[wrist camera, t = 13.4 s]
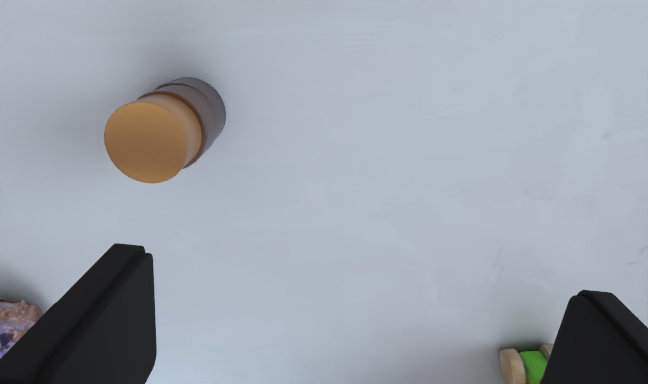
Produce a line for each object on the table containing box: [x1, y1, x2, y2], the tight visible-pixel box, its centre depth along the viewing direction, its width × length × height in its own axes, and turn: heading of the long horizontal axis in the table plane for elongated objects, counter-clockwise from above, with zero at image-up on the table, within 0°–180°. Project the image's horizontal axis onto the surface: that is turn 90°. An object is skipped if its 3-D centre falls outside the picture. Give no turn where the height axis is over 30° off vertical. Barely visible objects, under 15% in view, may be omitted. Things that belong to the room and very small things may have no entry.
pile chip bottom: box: [155, 78, 226, 139], centre depth 36 cm, size 6×6×3 cm
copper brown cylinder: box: [104, 94, 202, 183], centre depth 30 cm, size 5×5×3 cm
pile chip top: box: [137, 85, 217, 169], centre depth 33 cm, size 6×6×3 cm
